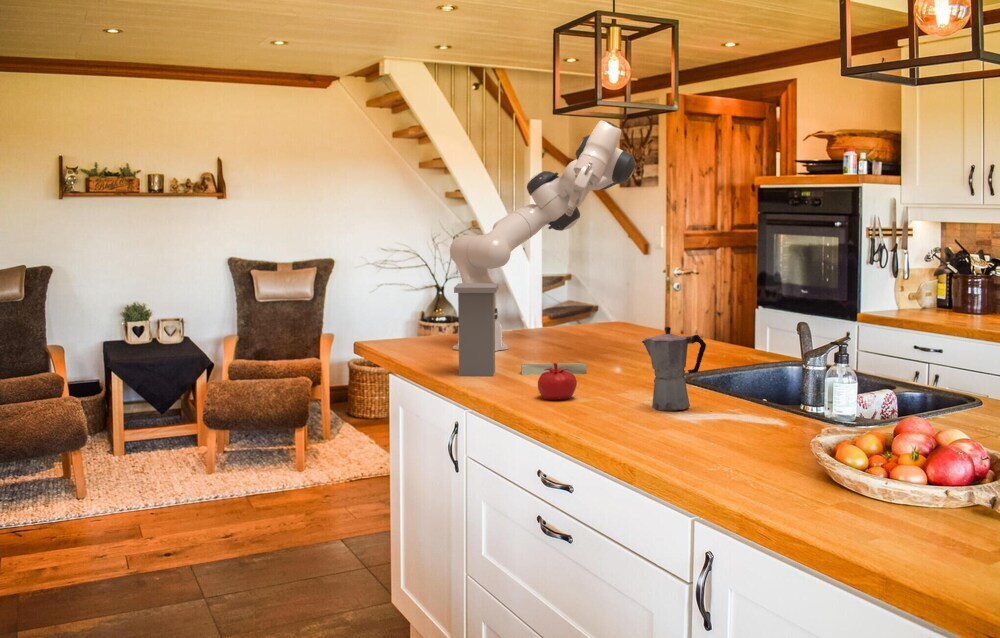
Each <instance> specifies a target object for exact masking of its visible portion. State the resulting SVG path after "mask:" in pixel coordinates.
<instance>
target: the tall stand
mask: <svg viewBox="0 0 1000 638" xmlns="http://www.w3.org/2000/svg"><path fill="white" fill-rule="evenodd" d="M498 290H499V283H497V282H494V283H462V282H459V283H457V284H456V285H455V286H454V287H453V293H454V294H457V300H458V301H457V303H458V304H457V305H458V308H457V309H458V310H457V311H458V318H457V319H458V320H457V321H458V326H459V350H458V376H459V377H494V375H495V371H496V351H495V293H496V294H497V291H498Z"/></svg>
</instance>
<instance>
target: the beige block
mask: <svg viewBox="0 0 1000 638" xmlns="http://www.w3.org/2000/svg"><path fill="white" fill-rule="evenodd" d="M553 363H554V362H553ZM553 363H551V362H550V363H547V362H546V363H542V362H541V363H520V366H521V368H520V369H521V370H520V371H521V375H522V376H525V375H529V376H530V375H532V376H533V375H540V376H541V375H542V374H543V373H544V372H547V371H549V370H545V369H550V368H553V369H554V365H553ZM557 363H558V362H557ZM561 367H562V368H561ZM587 367H588V366H587V364H586V363H585V362H580V363H579V362H576V363H575V362H572V363H571V362H570V363H567V362H566V363H565V362H564V363H563V362H562V363H561V362H560V363H558V364H557V368H558V369H559V368H561V369H560V370H563V369H569V370H565V371H567V372H570V373H572V374H573V375H587V373H588V372H587V371H588V370H587ZM570 370H571V371H570Z"/></svg>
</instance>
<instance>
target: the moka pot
mask: <svg viewBox="0 0 1000 638" xmlns="http://www.w3.org/2000/svg"><path fill="white" fill-rule="evenodd" d="M671 330H672V328H671V327H670V326H666V327H664V331H665V333H663V334H660V335H655V336H650V337H645V338H644V339H642V340H641V341H640V342H641V343H642V344H643V345H644V347H645V349H646V351H647V353H648V356H649V358H650V360H651V366H652V369H653V370H654V373H653V374H654V377H655V378H654V379H653V382H654V384H653V393H652V394H653V395H652V408H653V409H654V408H655V410H658V411H667V412H668V411H669V412H670V411H681V410H687V409H688V408H689V407H690V406H691V405H690V399H689V395H688V389H687V382H686V377H685V374H686V370H685V369H686V367H687V356H688V345H689V344H690V345H691V344H694V343H695V344H696V343H699V345H700V346H699V350H698V353H697V357H696V363H695V365H694V368H691V369H688V370H687V372H688V374H689V375H690V374H695V373H698V372H699V369H700V366H701V363H702V360H703V356H704V353H705V351H706V349H707V343H706V342H705V341H704V339H703V338H701V336H700V335H699V334H694V335H683V336H682V335H678V334H674V333H671Z"/></svg>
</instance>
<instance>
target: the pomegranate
mask: <svg viewBox="0 0 1000 638" xmlns="http://www.w3.org/2000/svg"><path fill="white" fill-rule="evenodd" d="M557 364H558V362H553V365H554V369H553V368H550V369H545V370H549V371H547V372H544V373H543V374H540V376H539V378H538V381H537V389H538V393H539V394H540V396H541V397H542V398H543V399H545V400H547V401H560V400H561V401H562V400H569V399H570V398H572V396H573V395H574V393H575V392H576V390H577V384H578V379H577V378H576V376H575V374H572V373H570V372H567V371H565V370H569V369H563V370H560V369H561V368H562V367H561V368H559V369H558V368H557ZM570 371H571V370H570Z"/></svg>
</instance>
